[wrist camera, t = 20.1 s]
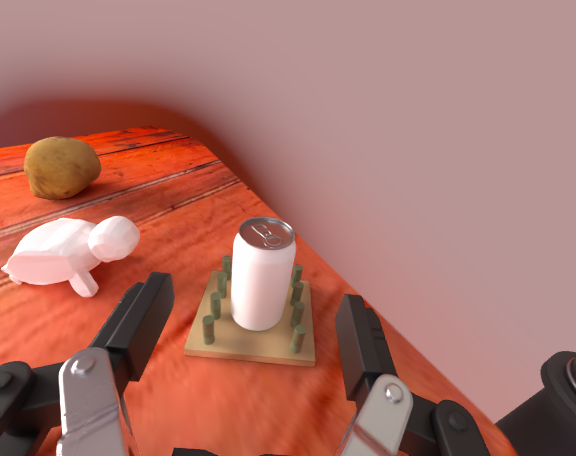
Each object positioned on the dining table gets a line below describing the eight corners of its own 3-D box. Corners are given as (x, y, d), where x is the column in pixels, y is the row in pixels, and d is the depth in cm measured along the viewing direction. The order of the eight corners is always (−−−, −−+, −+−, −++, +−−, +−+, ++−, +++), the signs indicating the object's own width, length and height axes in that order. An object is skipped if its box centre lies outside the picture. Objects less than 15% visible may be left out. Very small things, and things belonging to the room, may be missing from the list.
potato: (16, 203, 45) (-11, 145, 40) (66, 174, 56) (50, 125, 50) (80, 210, 46) (61, 154, 41) (117, 181, 57) (106, 133, 51)
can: (246, 342, 29) (255, 260, 23) (221, 302, 33) (222, 222, 27) (293, 318, 33) (312, 241, 26) (265, 284, 37) (275, 209, 30)
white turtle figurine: (29, 310, 33) (140, 287, 32) (-32, 260, 28) (96, 231, 27) (73, 264, 40) (165, 243, 39) (30, 218, 35) (133, 192, 34)
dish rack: (308, 286, 39) (314, 263, 37) (313, 367, 29) (322, 342, 27) (212, 275, 38) (212, 250, 36) (184, 355, 28) (181, 328, 26)
